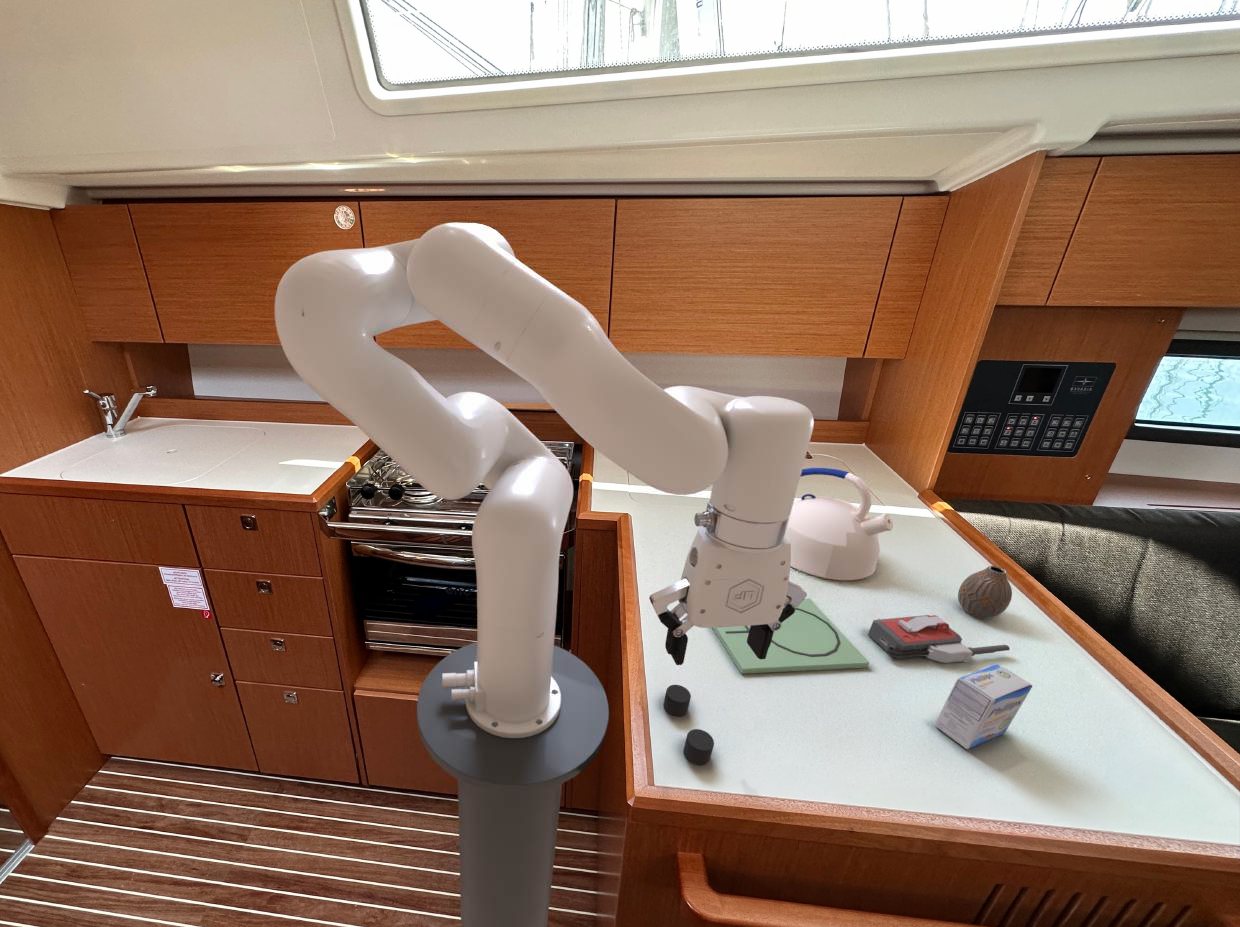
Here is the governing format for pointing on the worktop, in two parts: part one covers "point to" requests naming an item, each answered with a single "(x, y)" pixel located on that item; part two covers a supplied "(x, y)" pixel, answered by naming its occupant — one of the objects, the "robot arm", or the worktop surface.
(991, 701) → the medicine box
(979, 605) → the vase
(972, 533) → the worktop surface
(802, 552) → the kettle
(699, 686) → the worktop surface
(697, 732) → the eye dot
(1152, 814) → the worktop surface
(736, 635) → the drawing board
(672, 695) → the eye dot
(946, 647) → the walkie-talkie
